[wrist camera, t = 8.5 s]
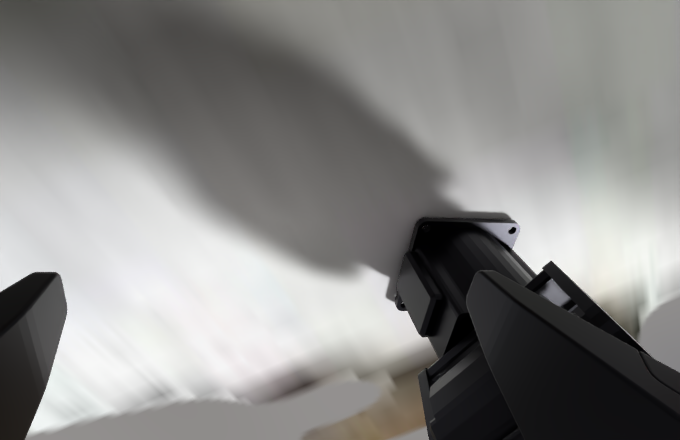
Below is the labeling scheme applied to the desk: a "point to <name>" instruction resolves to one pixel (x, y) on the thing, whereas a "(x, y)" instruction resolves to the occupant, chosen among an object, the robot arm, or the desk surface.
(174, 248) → the desk surface
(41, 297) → the robot arm
